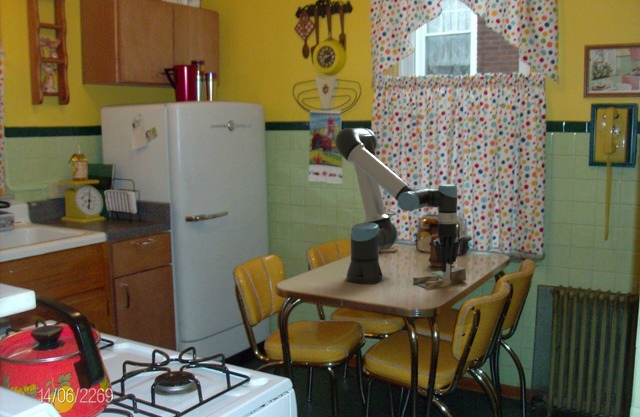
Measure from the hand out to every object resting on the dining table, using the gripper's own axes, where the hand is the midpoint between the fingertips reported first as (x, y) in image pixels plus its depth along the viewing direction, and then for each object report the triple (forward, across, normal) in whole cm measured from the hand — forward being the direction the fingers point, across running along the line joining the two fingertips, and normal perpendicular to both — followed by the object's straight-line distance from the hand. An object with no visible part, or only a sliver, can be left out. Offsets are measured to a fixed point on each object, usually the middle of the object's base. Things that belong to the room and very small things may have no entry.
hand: (446, 279), depth 266 cm
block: (+1, +5, 0) cm, 5 cm away
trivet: (+2, +8, +10) cm, 13 cm away
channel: (+2, -7, 0) cm, 7 cm away
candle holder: (+1, +13, +70) cm, 71 cm away
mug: (+2, +18, +28) cm, 34 cm away
